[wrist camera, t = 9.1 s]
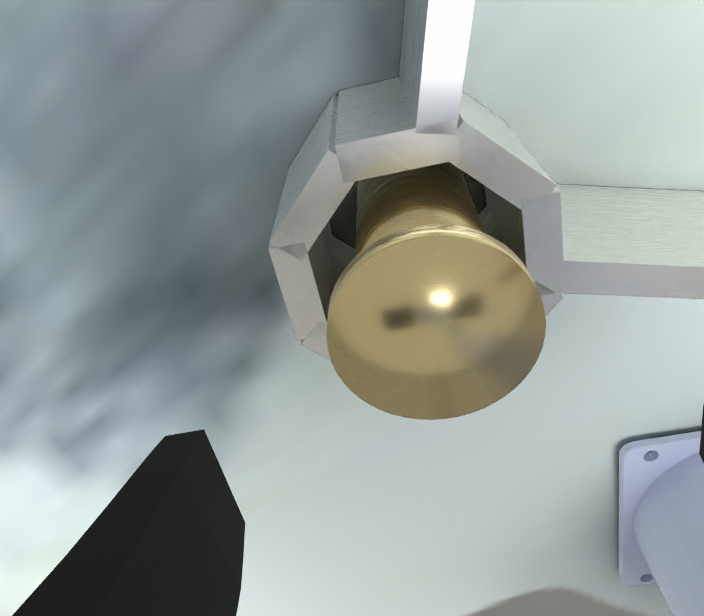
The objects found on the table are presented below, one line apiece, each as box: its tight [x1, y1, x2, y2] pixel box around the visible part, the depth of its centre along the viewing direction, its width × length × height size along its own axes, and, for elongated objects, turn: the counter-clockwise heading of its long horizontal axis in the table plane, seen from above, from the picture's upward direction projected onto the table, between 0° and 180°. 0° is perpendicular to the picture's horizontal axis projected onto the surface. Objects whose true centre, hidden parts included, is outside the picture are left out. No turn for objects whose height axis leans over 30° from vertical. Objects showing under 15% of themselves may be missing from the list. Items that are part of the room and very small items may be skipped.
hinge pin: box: [327, 162, 546, 420], centre depth 15 cm, size 4×4×8 cm
